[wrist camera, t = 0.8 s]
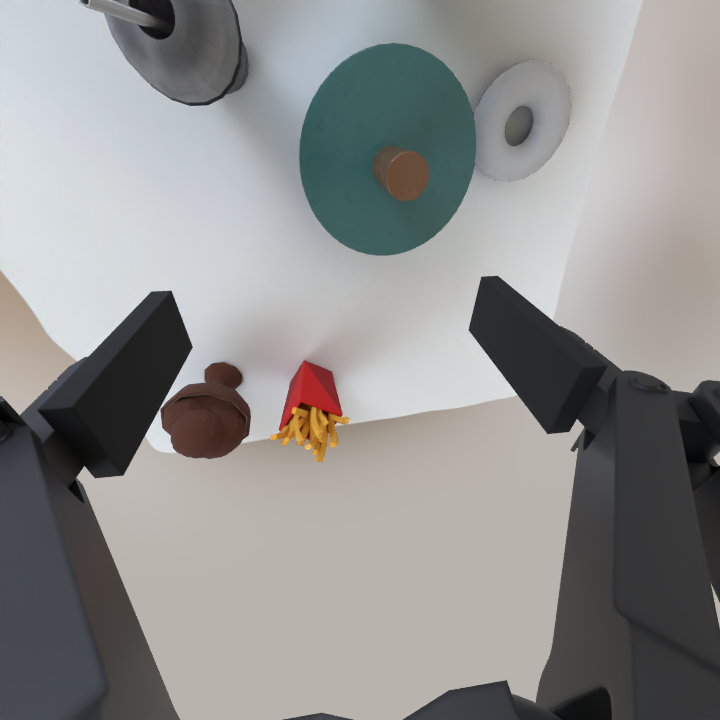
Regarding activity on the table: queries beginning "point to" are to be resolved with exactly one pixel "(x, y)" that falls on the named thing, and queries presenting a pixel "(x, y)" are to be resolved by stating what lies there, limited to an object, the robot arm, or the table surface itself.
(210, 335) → the table surface
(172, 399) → the ice cream bowl
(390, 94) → the tin lid
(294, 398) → the french fries
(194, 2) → the beverage cup
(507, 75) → the donut
